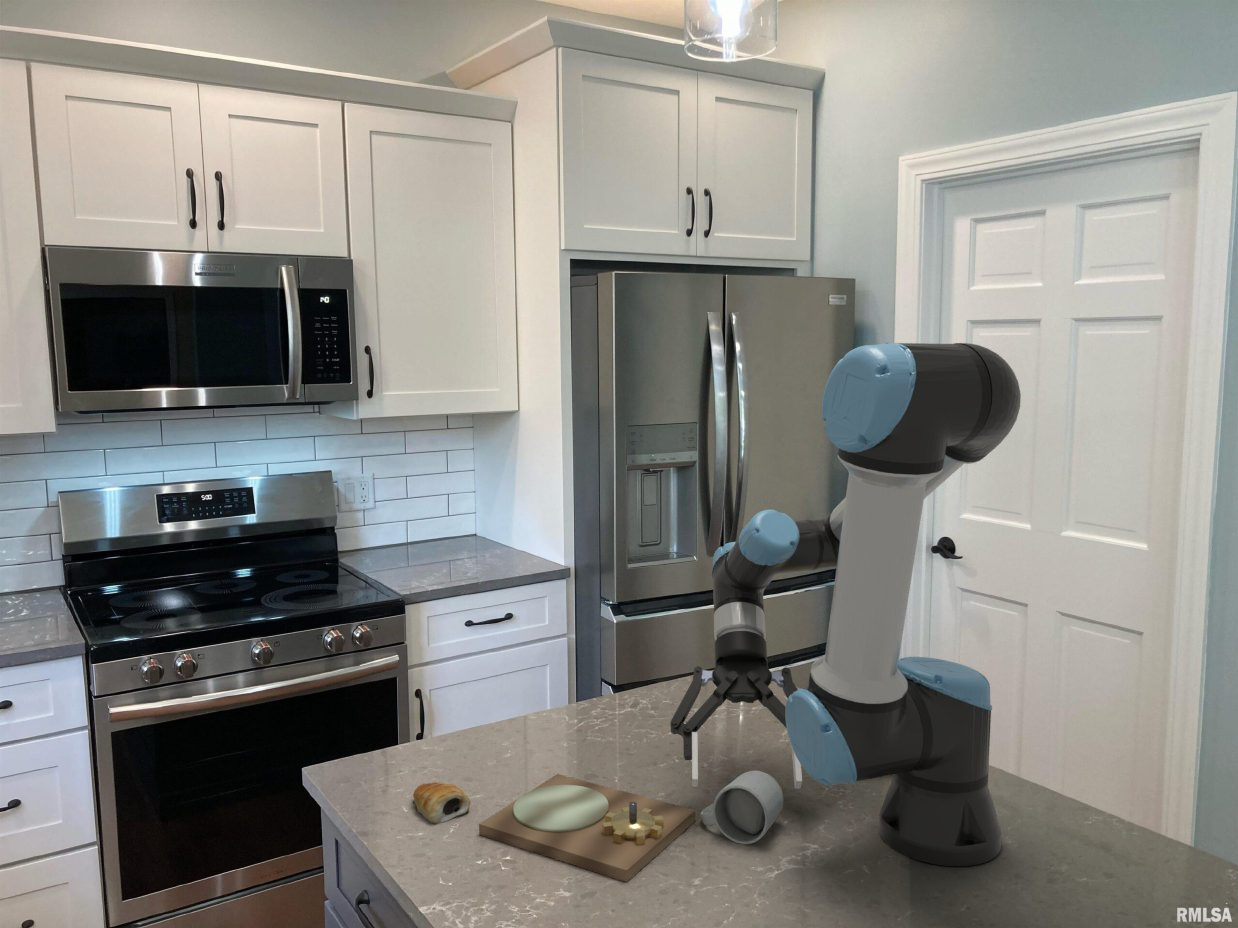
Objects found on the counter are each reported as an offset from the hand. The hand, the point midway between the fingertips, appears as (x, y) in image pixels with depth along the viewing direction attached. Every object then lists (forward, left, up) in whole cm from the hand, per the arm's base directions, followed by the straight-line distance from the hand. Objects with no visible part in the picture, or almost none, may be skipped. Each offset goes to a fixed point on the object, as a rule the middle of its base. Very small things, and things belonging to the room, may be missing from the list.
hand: (746, 784), depth 126 cm
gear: (+12, +10, -5) cm, 16 cm away
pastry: (+40, +16, -7) cm, 43 cm away
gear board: (+19, +10, -6) cm, 22 cm away
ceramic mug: (+1, 0, -7) cm, 7 cm away
